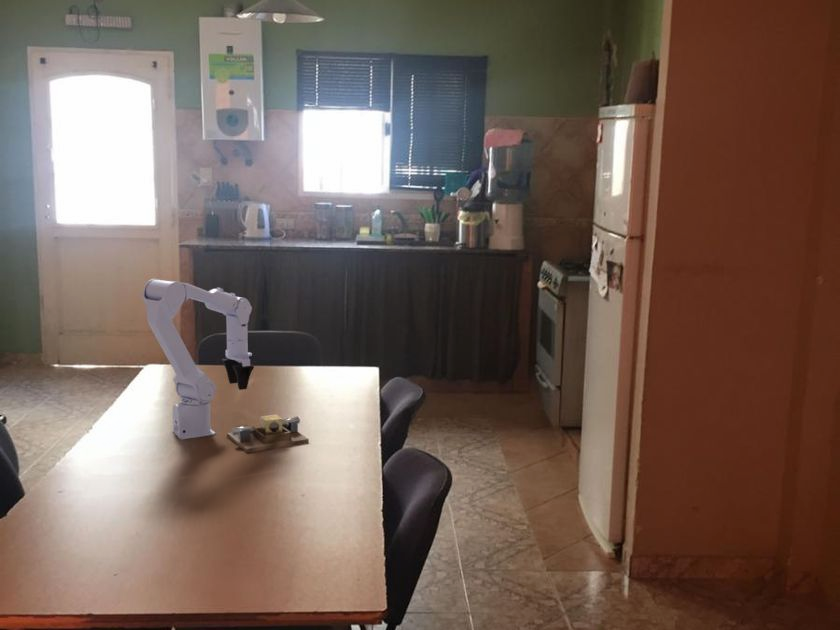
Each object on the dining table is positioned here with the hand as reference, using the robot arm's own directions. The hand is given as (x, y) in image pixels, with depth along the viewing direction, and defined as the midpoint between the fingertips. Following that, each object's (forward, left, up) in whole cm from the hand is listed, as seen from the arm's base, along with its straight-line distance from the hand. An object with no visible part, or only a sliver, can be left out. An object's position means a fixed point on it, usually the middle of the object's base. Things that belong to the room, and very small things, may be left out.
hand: (238, 386), depth 246 cm
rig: (+1, -21, -10) cm, 23 cm away
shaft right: (+8, -20, -9) cm, 23 cm away
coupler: (+1, -22, -9) cm, 24 cm away
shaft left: (-6, -21, -9) cm, 24 cm away
